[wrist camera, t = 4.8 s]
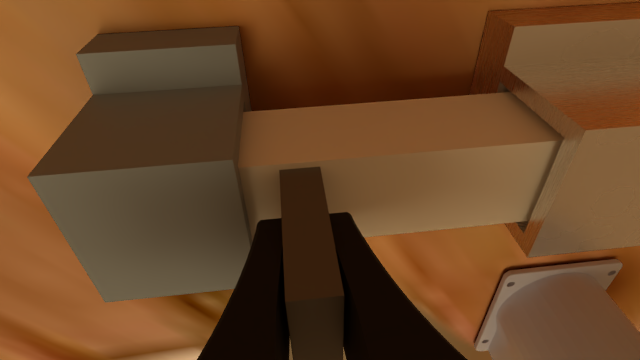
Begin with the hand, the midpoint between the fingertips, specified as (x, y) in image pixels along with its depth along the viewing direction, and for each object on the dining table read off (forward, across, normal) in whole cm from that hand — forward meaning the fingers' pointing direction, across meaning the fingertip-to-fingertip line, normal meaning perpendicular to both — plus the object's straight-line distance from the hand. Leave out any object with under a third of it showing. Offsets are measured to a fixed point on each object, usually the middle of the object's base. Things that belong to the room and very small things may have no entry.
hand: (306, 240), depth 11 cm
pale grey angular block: (+5, -2, 0) cm, 5 cm away
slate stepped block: (+7, +4, 0) cm, 8 cm away
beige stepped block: (+7, -12, 0) cm, 14 cm away
